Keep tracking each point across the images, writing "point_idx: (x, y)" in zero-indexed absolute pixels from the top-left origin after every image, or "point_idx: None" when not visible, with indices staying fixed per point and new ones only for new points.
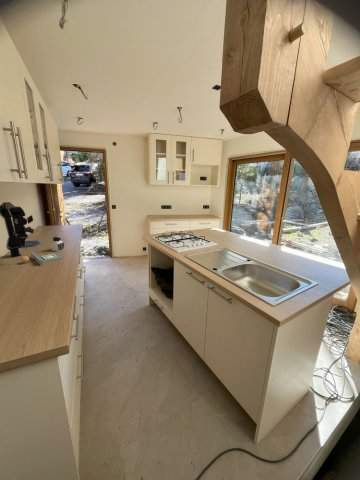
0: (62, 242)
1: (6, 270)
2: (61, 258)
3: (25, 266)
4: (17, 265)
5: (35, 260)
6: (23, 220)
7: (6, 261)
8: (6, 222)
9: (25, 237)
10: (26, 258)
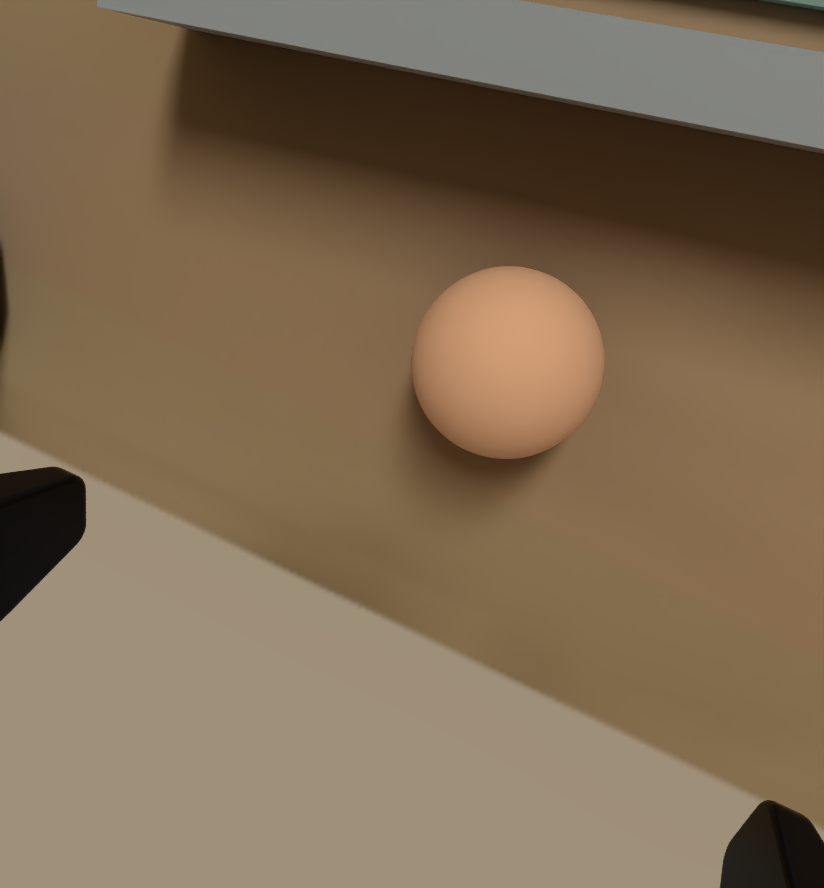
0: None
1: (649, 721)
2: None
3: (782, 469)
4: (554, 513)
5: (607, 111)
6: None
7: (173, 490)
8: None
9: None
10: (586, 376)
